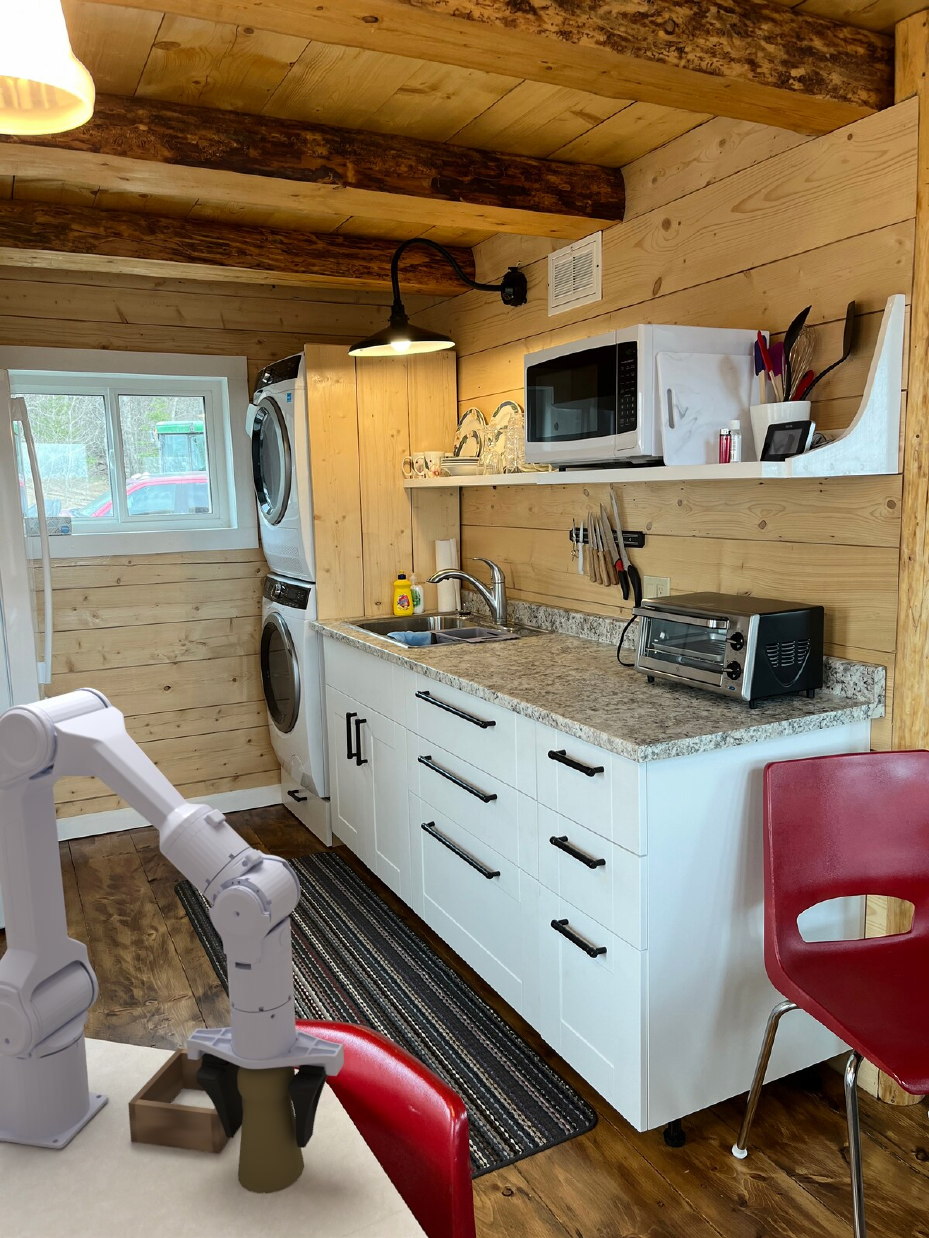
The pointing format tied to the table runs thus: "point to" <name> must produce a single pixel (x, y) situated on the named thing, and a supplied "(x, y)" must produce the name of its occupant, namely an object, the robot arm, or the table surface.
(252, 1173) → the olive game pawn
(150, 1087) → the walnut stand
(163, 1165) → the table surface
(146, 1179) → the table surface
